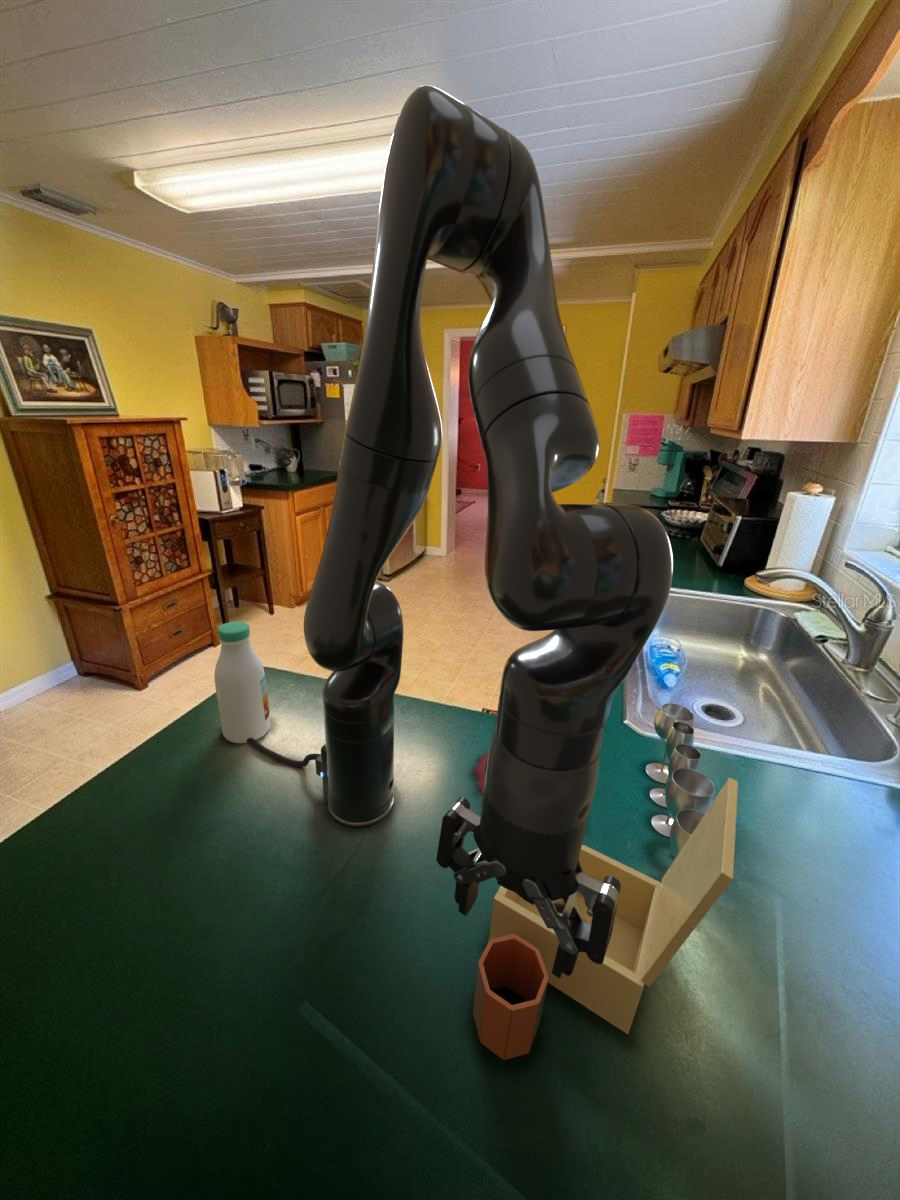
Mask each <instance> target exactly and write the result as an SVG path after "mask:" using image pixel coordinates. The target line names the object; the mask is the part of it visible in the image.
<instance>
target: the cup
mask: <svg viewBox="0 0 900 1200" xmlns="http://www.w3.org/2000/svg"><path fill="white" fill-rule="evenodd" d="M488 942H489V943H488ZM488 942H487V944H486V946H485V948H484V950H483V952H482V954H481V956H480V958H479V960H478V963H477V969H476V970H477V972H476V979H475V989H474V998H473V1007H472V1015H473V1019H474V1023H475V1028H476V1031H477V1032H476V1033H477V1037H478V1040H479V1042H480V1044H481V1045H483V1046H484V1047H485V1048H486V1049H488V1050H490V1051H491V1052H492V1053H493V1054H495V1055H496V1056H497V1057H499V1058H500V1059H501V1060H504V1061H506V1060H510V1059H514V1058H518V1057H520V1056H524V1055H528V1054H529V1053H530V1052H531V1050H532V1046H533V1044H534V1041H535V1038H536V1035H537V1032H538V1030H539V1027H540V1022H541V1018H542V1012H543V1009H544V1003H545V999H546V994H547V990H548V989H547V988H548V985H549V983H548V980H549V975H548V973H547V970H546V968H545V965H544V963H543V960H542V957H541V955H540V952H539V950H538V949H537V948H536V947H535V946H533V945H531V944H530V943H528V942H527V941H525V940H523V939H522V938H520V937H519V936H517V935H514V934H512V935H507V936H503V937H498V938H494V939H491V940H490V941H489V940H488ZM504 987H507V988H509V989H510V990H512V991H513V992H515V993H516V994H517V995H519V996H520V997H521V998H523V999H524V1000H526V1001H523V1002H520V1003H516V1004H511V1003H510V1002H509V1001H507V1000H506V999H504V998H503V997H501V996H500V995H498V994H497V993H495V992H494V991H493V990H497V989H501V988H504Z"/></svg>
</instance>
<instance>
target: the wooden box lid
mask: <svg viewBox="0 0 900 1200" xmlns="http://www.w3.org/2000/svg"><path fill="white" fill-rule="evenodd" d="M738 793H739V781H737V780H736V779H733V778H732V777H728V779H727V780H726V782H725V783H724V785H723V786H722V787H721V789H720V791H719V793H718V794H717V795H716V797H714V801H713V803H712V804H711V806H710V807H709V809H708V810H707V812H706V813H705V815H704V816H703V818H702V819H701V821H700V822H699V824H698V825H697V827H696V828H695V830H694V831H693V833H692V834H691V836H690V837H689V839H688V840H687V842H686V843H685V845H684V847H683V848H682V850H681V851H680V853H679V854H678V856H677V857H675V859H674V860H673V861H672V864H670V866H669V868H668V869H667V870H666V872H665V874H664V875H663V877H662V878H661V886H660V891H659V896H658V900H657V905H656V910H655V915H654V919H653V924H652V929H651V934H650V939H649V943H648V948H647V953H646V958H645V962H644V967H643V972H642V977H641V981H642V982H643V983H644V985H645V986H647V987H648V988H649V987H651V986H652V984H653V983H654V982H655V981H656V979H658V977H659V975H660V974H662V972H663V970H664V969H666V967H667V965H668V964H669V963H670V961H671V960H672V959H673V958H674V956H675V955H676V954H677V953H678V951H679V949H681V947H682V946H683V945H684V944H685V942H686V941H687V940H688V938H689V937H690V936H691V935H692V933H693V932H694V931H695V929H696V928H697V927H698V925H699V924H700V923H701V921H703V919H704V918H705V916H706V915H707V914H708V913H709V912H710V910H711V908H712V907H713V906H714V905H715V903H716V902H717V901H718V899H720V897H721V896H722V895H723V893H724V892H725V890H727V888H728V887H729V886H730V885H731V883H732V882H733V881H734V870H735V853H736V832H737V813H738V795H739V794H738Z"/></svg>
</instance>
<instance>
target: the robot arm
mask: <svg viewBox="0 0 900 1200" xmlns="http://www.w3.org/2000/svg"><path fill="white" fill-rule="evenodd" d="M393 129H394V130H393V133H392V136H391V139H390V143H389V147H388V148H389V149H388V153H387V157H386V163H385V168H384V174H383V178H382V179H383V180H382V187H381V195H380V201H379V202H380V203H379V209H378V217H377V226H376V237H375V244H374V251H373V252H374V254H373V261H372V262H373V263H372V271H371V279H370V288H369V296H368V297H369V298H368V305H367V311H366V313H367V314H366V321H365V327H364V328H365V329H364V334H363V339H362V346H361V350H360V351H361V352H360V356H359V361H358V366H357V367H358V368H357V373H356V377H355V381H354V382H355V383H354V387H353V391H352V397H351V401H350V407H349V411H348V416H347V419H346V424H345V431H344V436H343V441H342V447H341V453H340V459H339V464H338V470H337V477H336V478H337V479H336V485H335V492H334V497H333V501H332V506H331V511H330V516H329V521H328V525H327V530H326V535H325V540H324V544H323V549H322V553H321V556H320V560H319V563H318V567H317V570H316V573H315V576H314V580H313V583H312V586H311V590H310V593H309V596H308V599H307V604H306V607H305V611H304V617H303V637H304V641H305V646H306V648H307V651H308V653H309V655H310V657H311V658H312V660H313V661H314V662H315V663H316V664H317V666H319V667H321V668H322V669H324V670H327V671H330V672H332V673H330V675H329V676H327V679H326V680H325V681H324V683H323V686H322V692H321V693H322V707H323V708H322V709H323V725H324V739H325V740H324V741H325V744H323V745H322V746H321V747H320V753H309V754H307V755H305V756H304V758H303V760H295V759H292V758H289V757H287V756H284V755H281V754H279V753H277V752H275V751H273V750H271V749H269V748H267V747H266V746H264V745H262V744H261V743H260V742H258V741H257V740H254V739H253V738H248V739H247V743H248V744H249V745H250V746H252V747H253V748H254V749H256V750H257V751H258V752H260V753H261V754H263V755H265V756H267V757H269V758H272V759H273V760H275V761H278V762H279V763H281V764H283V765H287V766H291V767H294V768H304V767H306V766H307V765H309V764H310V761H314V762H315V774H316V775H317V776H319V777H320V778H322V793H323V801H324V803H326V804H327V807H328V812H329V814H330V815H331V817H332V818H333V819H334V820H335V821H336V822H338V823H339V824H341V825H344V826H347V827H352V828H362V827H368V826H371V825H374V824H376V823H378V822H380V821H382V820H383V819H384V818H386V817H387V815H388V814H389V813H390V812H391V810H392V809H393V806H394V804H395V790H394V781H395V780H396V779H395V777H396V773H395V765H394V764H395V693H396V691H397V688H398V686H399V684H400V681H401V675H402V663H403V649H404V648H403V647H404V618H403V612H402V609H401V605H400V603H399V601H398V599H397V597H396V595H395V594H394V592H393V591H392V589H390V587H388V586H387V585H385V584H384V583H382V582H381V581H380V582H379V581H378V578H379V576H380V573H381V572H382V570H383V568H384V566H385V565H386V563H387V562H388V560H389V559H390V557H391V556H392V554H393V553H394V551H396V548H398V546H399V544H400V543H401V542H402V540H403V539H404V537H405V536H406V535H407V533H408V531H409V530H410V528H411V527H412V525H413V524H414V522H415V520H416V519H417V517H418V515H419V514H420V512H421V511H422V508H423V506H424V503H425V502H426V499H427V496H428V494H429V491H430V487H431V485H432V480H433V477H434V473H435V470H436V466H437V464H438V460H439V456H440V452H441V448H442V442H443V425H442V423H443V422H442V418H441V413H440V408H439V404H438V403H439V402H438V399H437V395H436V392H435V389H434V388H435V387H434V385H433V381H432V377H431V373H430V369H429V366H428V362H427V356H426V353H425V348H424V347H425V346H424V340H423V333H422V304H423V303H422V302H423V289H424V280H425V274H426V269H427V263H428V261H430V262H433V263H436V264H438V265H440V266H443V267H444V268H448V269H451V270H453V271H455V272H458V273H459V274H463V275H466V276H473V277H475V278H476V279H477V280H478V282H479V284H480V286H481V287H482V289H483V290H484V292H485V294H486V297H487V299H488V301H489V303H490V307H489V310H488V311H487V313H486V315H485V317H484V319H483V321H482V323H481V325H480V326H479V329H478V331H477V333H476V335H475V336H474V337H475V338H474V341H473V344H472V347H471V350H470V354H469V360H468V371H467V382H468V383H467V385H468V386H467V387H468V391H469V398H470V403H471V407H472V411H473V415H474V419H475V424H476V428H477V431H478V432H477V433H478V435H479V439H480V443H481V446H482V447H481V448H482V450H483V451H482V452H483V454H484V457H485V462H486V473H487V474H486V477H487V478H486V479H487V481H486V482H487V483H486V484H487V518H486V533H485V534H486V535H485V547H484V548H485V549H484V579H485V585H486V589H487V591H488V596H489V597H490V599H491V602H492V603H493V605H494V607H495V608H496V609H497V611H498V612H499V613H500V615H501V616H502V617H503V618H504V619H505V620H506V621H507V622H508V623H509V624H511V625H512V626H514V627H516V628H517V629H520V630H522V631H524V632H525V631H526V632H533V633H540V632H541V633H542V632H550V633H548V634H546V635H545V636H543V637H541V638H539V639H536V640H534V641H531V642H528V643H526V644H525V645H522V646H520V647H519V648H517V649H516V650H514V651H513V652H512V653H511V654H510V655H509V656H508V658H507V659H506V661H505V663H504V665H503V668H502V672H501V679H500V686H499V694H498V696H499V697H498V702H497V711H496V718H495V725H494V730H493V734H492V738H491V740H490V743H489V748H488V752H487V753H488V758H487V761H486V764H485V774H486V775H485V783H484V791H483V796H482V800H481V809H480V815H478V814H476V813H475V812H473V811H472V810H471V803H470V801H469V799H467V798H465V797H464V796H459V797H458V798H457V800H456V801H455V802H454V803H453V804H452V805H451V806H450V807H449V809H448V810H447V812H446V813H445V814H444V815H443V816H442V821H441V827H440V832H439V833H440V834H439V840H438V846H437V852H436V858H435V859H436V863H437V865H439V866H440V867H441V868H443V869H448V868H450V870H452V871H453V878H454V881H455V888H454V889H455V890H454V900H455V902H456V904H458V913H460V914H462V915H463V916H464V917H467V915H468V914H469V913H470V911H471V909H472V908H473V906H474V905H475V903H476V901H477V899H478V895H479V887H480V883H482V882H486V881H487V880H490V879H493V878H494V879H495V880H496V884H497V885H499V886H500V887H501V886H502V887H504V888H506V889H508V890H511V891H513V892H515V893H517V894H518V895H519V896H520V897H521V898H523V899H524V900H525V901H527V902H529V903H530V904H532V905H534V904H535V905H536V907H537V909H538V911H539V913H540V915H541V917H542V919H543V921H544V923H545V925H546V927H547V928H549V929H553V930H554V932H555V934H556V936H557V938H558V940H559V941H560V942H559V945H558V948H557V953H556V957H555V961H554V965H553V969H552V974H553V975H555V976H556V977H558V978H559V979H560V978H561V975H562V973H564V974H565V975H567V976H570V975H571V974H572V972H573V969H574V966H575V964H576V961H577V958H578V954H579V952H585V953H587V956H588V958H589V959H590V960H591V961H592V962H594V963H596V964H602V963H603V961H604V958H605V954H606V951H607V948H608V945H609V941H610V938H611V935H612V931H613V926H614V921H615V916H616V910H617V905H618V900H619V895H620V890H621V883H620V882H619V880H618V879H617V878H615V877H613V876H606V877H605V878H604V881H603V882H601V881H599V880H597V879H595V878H593V877H591V876H589V875H587V874H585V873H583V872H582V868H581V865H580V862H579V855H580V851H581V847H582V844H583V842H584V838H585V835H586V830H587V827H588V826H587V825H588V822H589V817H590V815H591V814H590V813H591V809H592V805H593V801H594V796H595V793H596V788H597V784H598V779H599V769H600V754H601V748H602V744H603V740H604V736H605V732H606V728H607V722H608V718H609V715H610V711H611V706H612V702H613V698H614V697H615V695H616V693H617V692H618V691H619V689H620V688H621V686H622V684H623V683H624V681H625V680H626V678H627V677H628V675H629V674H630V672H631V670H632V669H633V667H634V665H635V663H636V661H637V660H638V658H639V656H640V654H641V652H642V651H643V650H644V647H645V646H646V644H647V642H648V641H649V638H650V637H651V635H652V634H653V632H654V629H655V628H656V626H657V623H658V622H659V620H660V618H661V616H662V614H663V611H664V609H665V607H666V605H667V601H668V599H669V596H670V592H671V589H672V588H671V587H672V583H673V576H674V575H673V574H674V555H673V548H672V544H671V541H670V540H671V539H670V537H669V535H668V532H667V530H666V528H665V527H664V525H663V523H662V522H661V521H660V519H659V518H658V517H657V516H656V515H655V514H654V513H653V512H651V511H650V510H648V509H646V508H644V507H642V506H638V505H634V504H629V503H558V501H557V500H556V498H555V495H554V493H555V492H558V491H561V490H563V489H565V488H568V487H570V486H572V485H573V484H575V483H577V482H578V481H580V480H581V479H582V478H583V477H585V475H587V474H588V473H589V471H590V470H592V468H593V467H594V465H595V463H596V462H597V459H598V456H599V452H600V446H601V445H600V443H601V442H600V435H599V431H598V426H597V423H596V420H595V417H594V414H593V410H592V408H591V405H590V402H589V399H588V397H587V394H586V392H585V388H584V386H583V382H582V380H581V377H580V375H579V370H578V368H577V365H576V363H575V360H574V357H573V354H572V352H571V348H570V346H569V341H568V339H567V336H566V332H565V329H564V326H563V322H562V317H561V313H560V309H559V303H558V298H557V291H556V284H555V277H554V269H553V261H552V253H551V247H550V241H549V235H548V228H547V221H546V212H545V205H544V198H543V192H542V186H541V181H540V177H539V173H538V170H537V167H536V163H535V161H534V158H533V156H532V154H531V152H530V151H529V149H528V148H527V147H526V145H525V144H524V143H523V142H522V141H521V140H520V139H518V137H516V136H514V135H513V134H512V133H511V132H509V131H507V130H506V129H505V128H504V127H501V126H500V125H498V123H496V122H494V121H492V120H490V118H488V117H486V116H485V115H483V114H481V113H480V112H478V111H477V110H475V109H473V108H472V107H470V106H468V105H467V104H465V103H463V102H462V101H460V100H458V99H457V98H455V97H454V96H452V95H450V94H449V93H447V92H445V91H444V90H441V89H440V88H438V87H435V86H432V85H429V84H428V85H427V84H424V85H421V86H418V87H417V88H416V89H414V90H413V91H412V92H411V93H410V94H409V95H408V97H407V99H406V100H405V102H404V103H403V106H402V108H401V110H400V113H399V114H398V117H397V120H396V123H395V126H394V128H393ZM470 832H471V833H473V840H474V842H475V844H476V846H477V848H475V849H473V850H470V851H469V852H467V851H466V850H465V849H464V848H463V846H464V840H465V837H466V836H467V834H468V833H470ZM576 891H578V892H579V893H581V894H582V896H583V897H584V900H585V905H586V906H587V908H588V909H587V914H588V915H589V916H591V917H592V923H591V924H589V923H587V921H586V919H585V917H584V915H583V914H582V912H581V910H580V908H579V906H578V904H577V894H576ZM552 901H554V902H552ZM568 920H569V922H568Z"/></svg>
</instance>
